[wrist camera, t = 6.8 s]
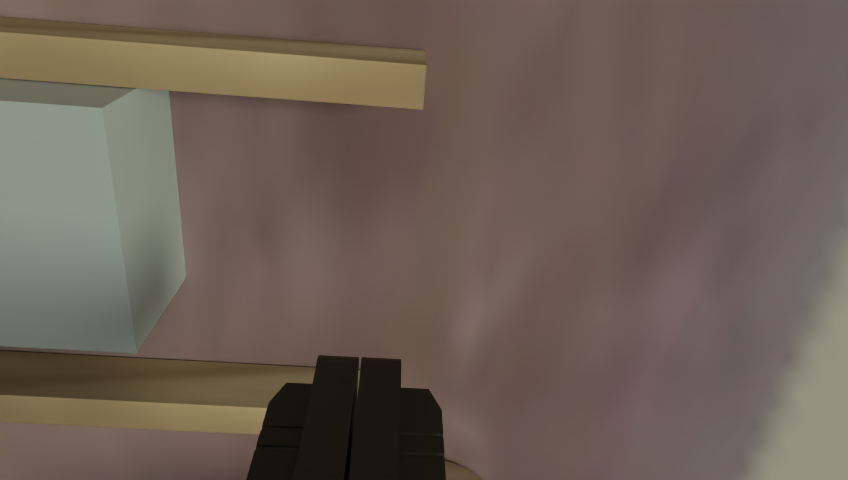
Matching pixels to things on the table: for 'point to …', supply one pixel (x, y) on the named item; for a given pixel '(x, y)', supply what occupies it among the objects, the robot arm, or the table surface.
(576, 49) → the table surface
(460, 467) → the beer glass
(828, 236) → the table surface
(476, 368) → the table surface
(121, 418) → the bay
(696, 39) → the table surface
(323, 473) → the robot arm
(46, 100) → the pale teal block
